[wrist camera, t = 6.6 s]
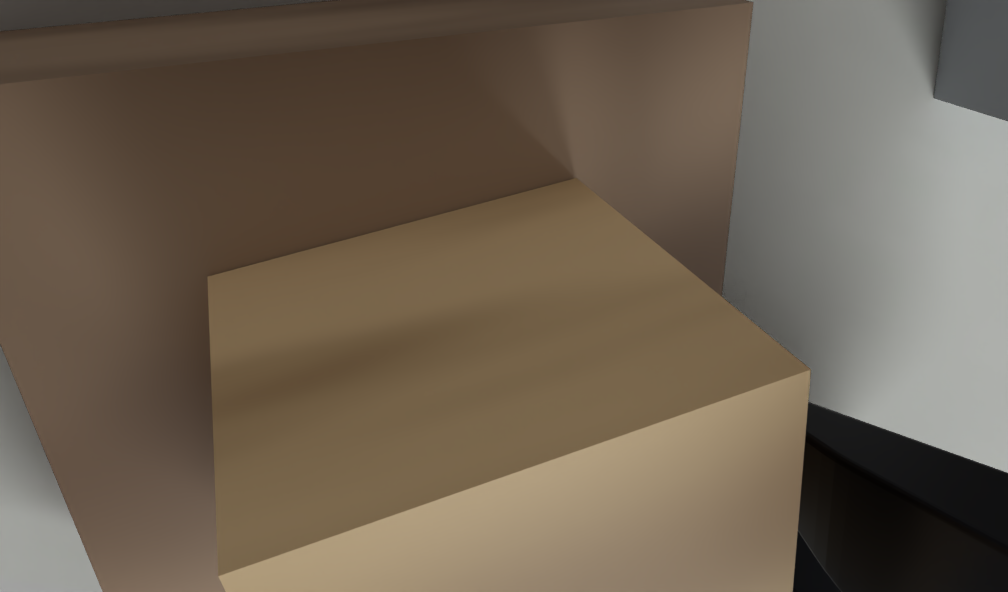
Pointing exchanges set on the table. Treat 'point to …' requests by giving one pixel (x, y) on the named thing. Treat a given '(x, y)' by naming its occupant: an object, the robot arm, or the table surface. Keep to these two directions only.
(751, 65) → the table surface
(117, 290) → the walnut block
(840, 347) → the table surface
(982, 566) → the robot arm
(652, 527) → the oak cube
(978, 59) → the grey cube
